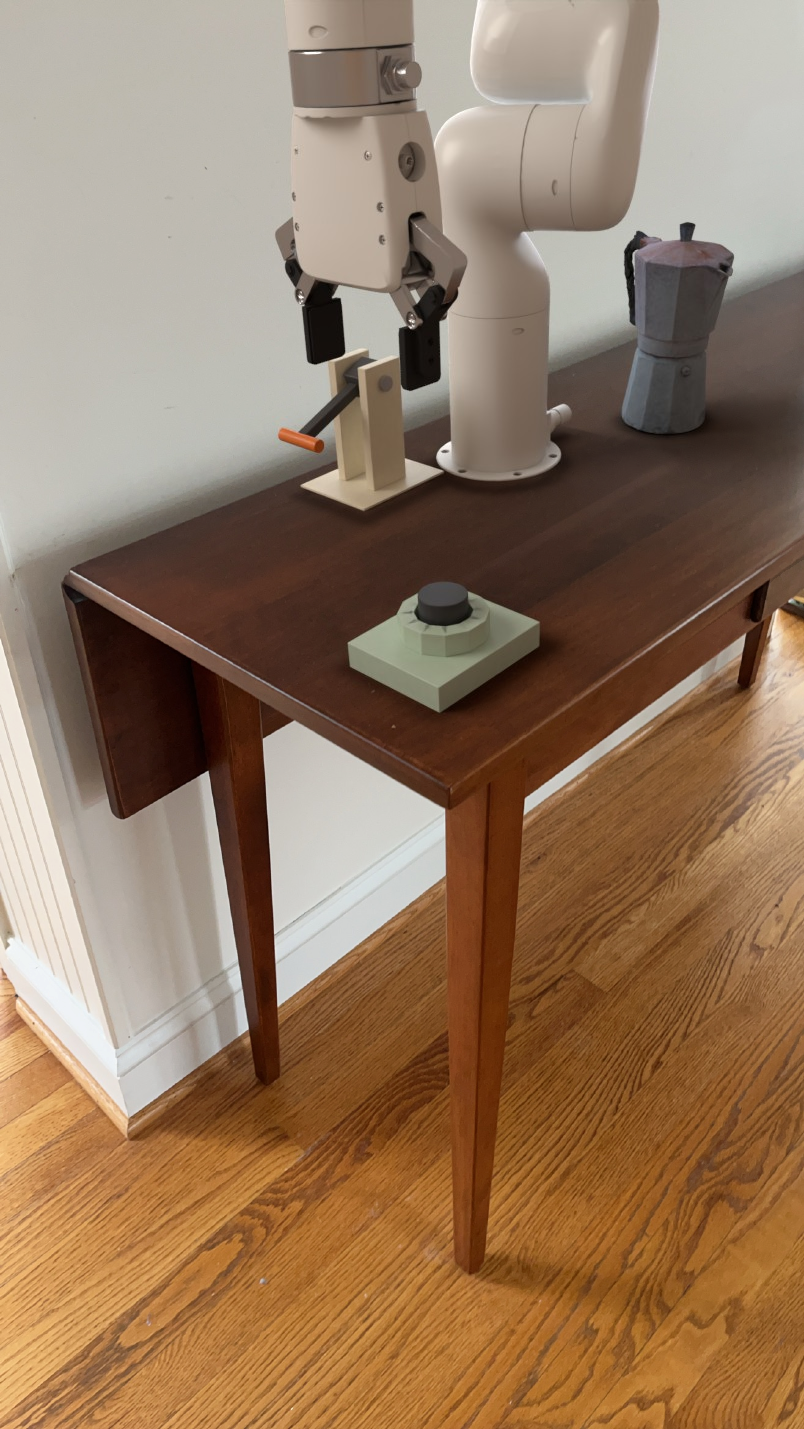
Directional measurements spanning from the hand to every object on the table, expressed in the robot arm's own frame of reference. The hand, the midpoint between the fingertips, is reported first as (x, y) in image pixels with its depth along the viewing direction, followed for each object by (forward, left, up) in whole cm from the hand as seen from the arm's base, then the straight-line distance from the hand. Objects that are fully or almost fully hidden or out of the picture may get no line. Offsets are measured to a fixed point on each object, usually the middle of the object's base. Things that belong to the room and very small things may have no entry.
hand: (372, 372), depth 71 cm
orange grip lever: (-12, -18, -11) cm, 24 cm away
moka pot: (-47, -6, -19) cm, 51 cm away
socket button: (+3, +8, -15) cm, 18 cm away
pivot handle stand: (-15, -18, -19) cm, 30 cm away
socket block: (+3, +8, -19) cm, 21 cm away
